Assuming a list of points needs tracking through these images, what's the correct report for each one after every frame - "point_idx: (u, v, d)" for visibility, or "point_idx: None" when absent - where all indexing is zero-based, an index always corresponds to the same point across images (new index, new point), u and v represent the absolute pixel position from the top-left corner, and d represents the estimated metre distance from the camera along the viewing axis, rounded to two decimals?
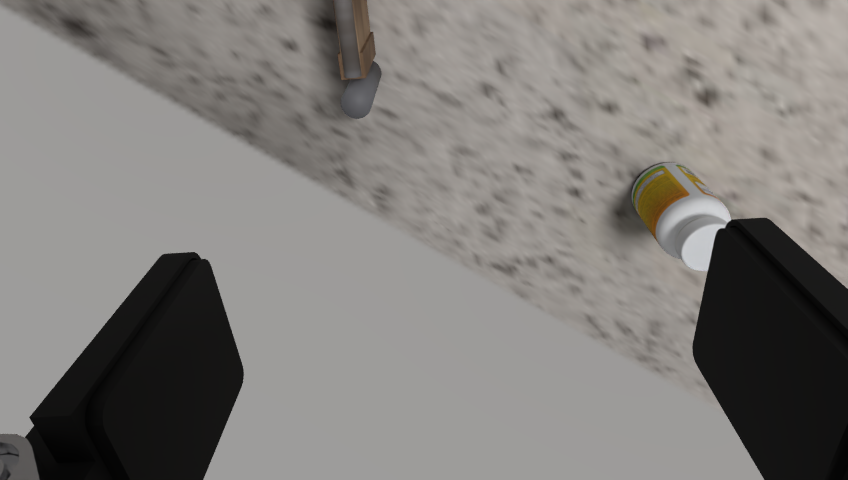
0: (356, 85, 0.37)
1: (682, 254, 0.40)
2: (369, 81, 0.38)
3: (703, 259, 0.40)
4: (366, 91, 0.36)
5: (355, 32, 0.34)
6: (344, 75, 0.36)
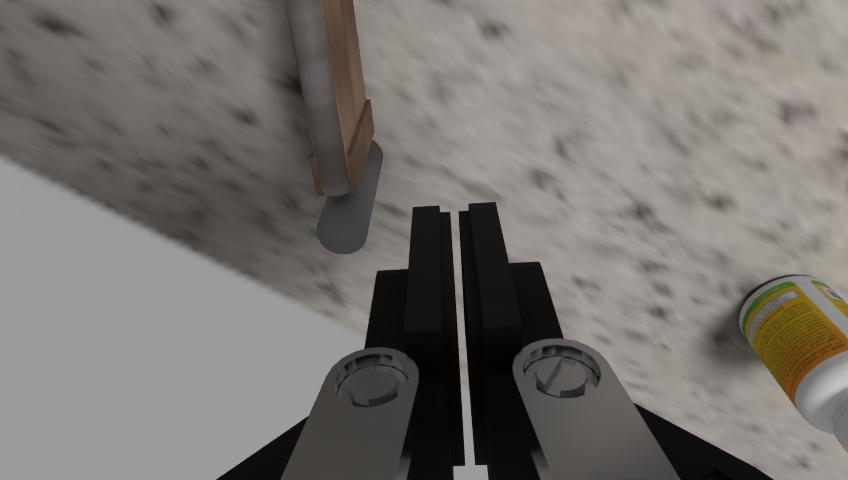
0: (342, 202, 0.22)
1: None
2: (364, 187, 0.24)
3: None
4: (358, 212, 0.22)
5: (338, 124, 0.20)
6: (321, 189, 0.22)
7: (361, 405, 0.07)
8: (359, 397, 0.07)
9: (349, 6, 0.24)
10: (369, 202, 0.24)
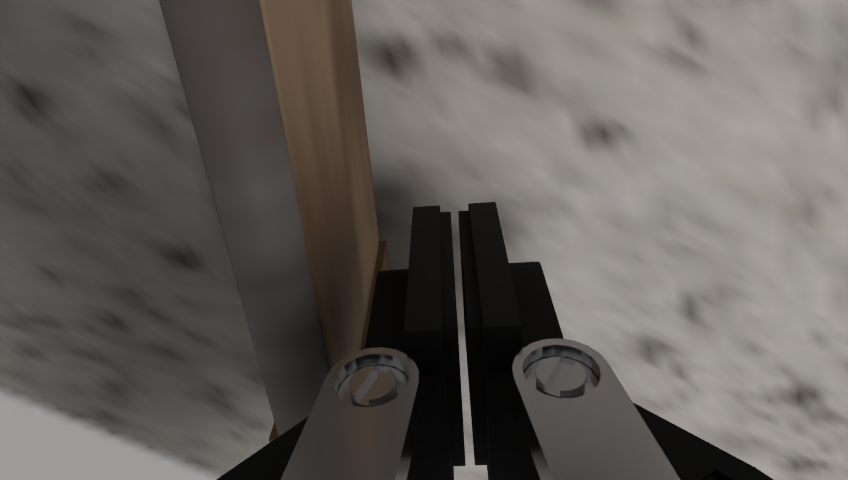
0: None
1: None
2: None
3: None
4: None
5: None
6: None
7: (361, 405, 0.07)
8: (359, 397, 0.07)
9: (355, 103, 0.13)
10: None
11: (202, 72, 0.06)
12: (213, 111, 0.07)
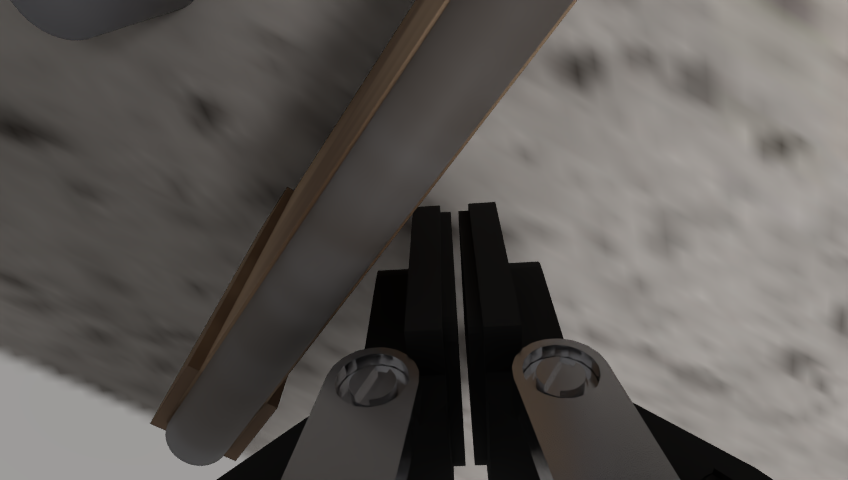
0: None
1: None
2: None
3: None
4: None
5: (298, 358, 0.09)
6: (168, 426, 0.09)
7: (361, 405, 0.07)
8: (359, 397, 0.07)
9: None
10: None
11: (479, 42, 0.06)
12: (455, 77, 0.06)
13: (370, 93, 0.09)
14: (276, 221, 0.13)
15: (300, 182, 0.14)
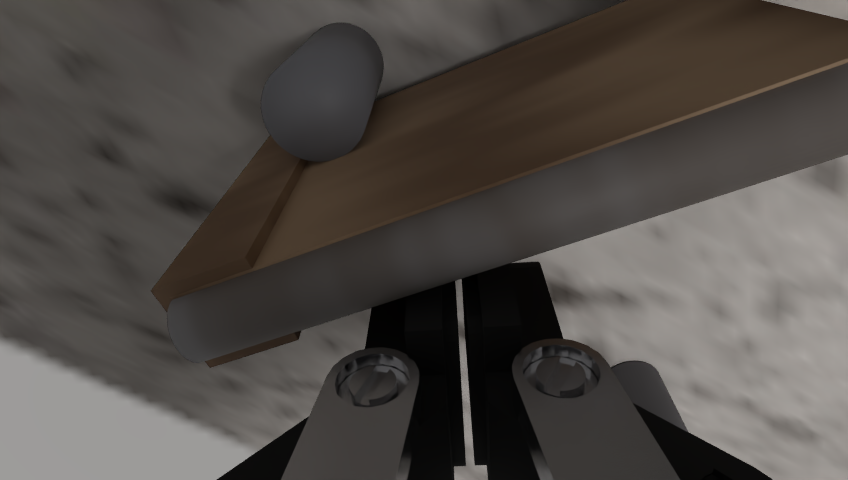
0: None
1: None
2: None
3: None
4: None
5: None
6: (174, 304, 0.08)
7: (361, 405, 0.07)
8: (359, 397, 0.07)
9: None
10: None
11: (755, 152, 0.06)
12: (715, 166, 0.07)
13: (549, 106, 0.09)
14: None
15: None
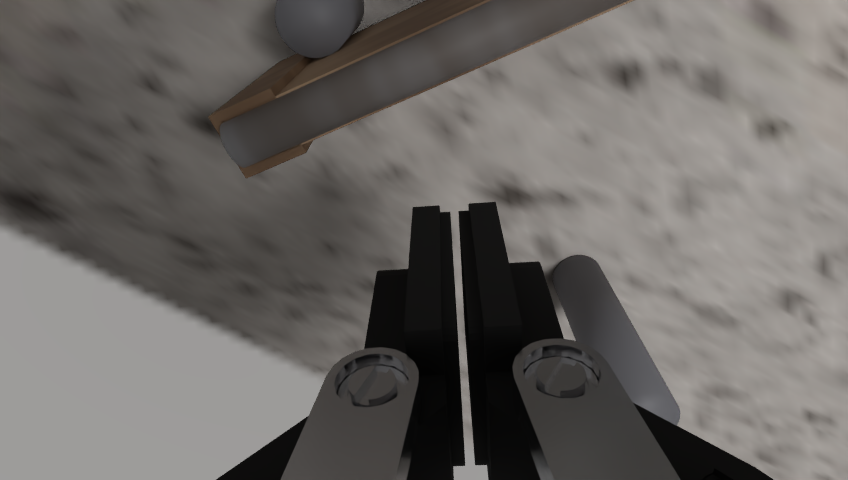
0: (642, 375, 0.16)
1: None
2: (640, 341, 0.18)
3: None
4: (668, 391, 0.16)
5: (348, 122, 0.12)
6: (224, 124, 0.12)
7: (361, 405, 0.07)
8: (359, 397, 0.07)
9: None
10: None
11: None
12: (556, 1, 0.11)
13: None
14: None
15: None
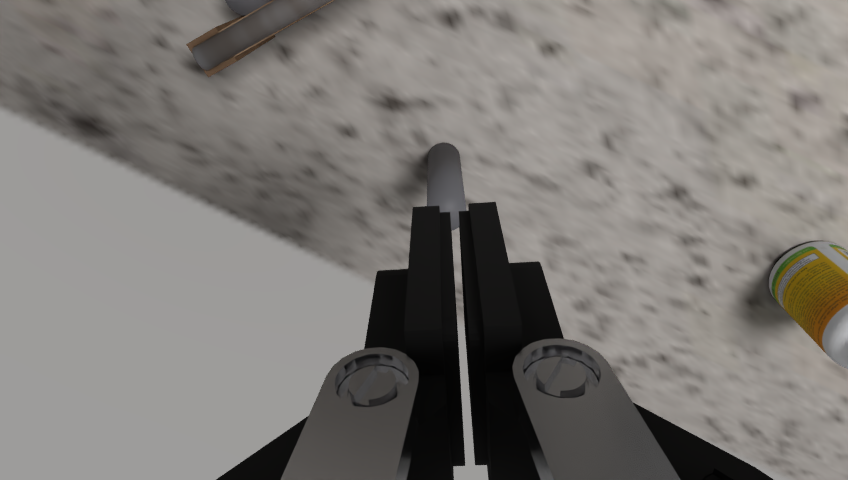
0: (445, 189, 0.28)
1: None
2: (457, 178, 0.30)
3: None
4: (459, 197, 0.28)
5: (256, 42, 0.25)
6: (194, 47, 0.25)
7: (361, 405, 0.07)
8: (359, 397, 0.07)
9: None
10: (463, 190, 0.30)
11: None
12: None
13: None
14: None
15: None
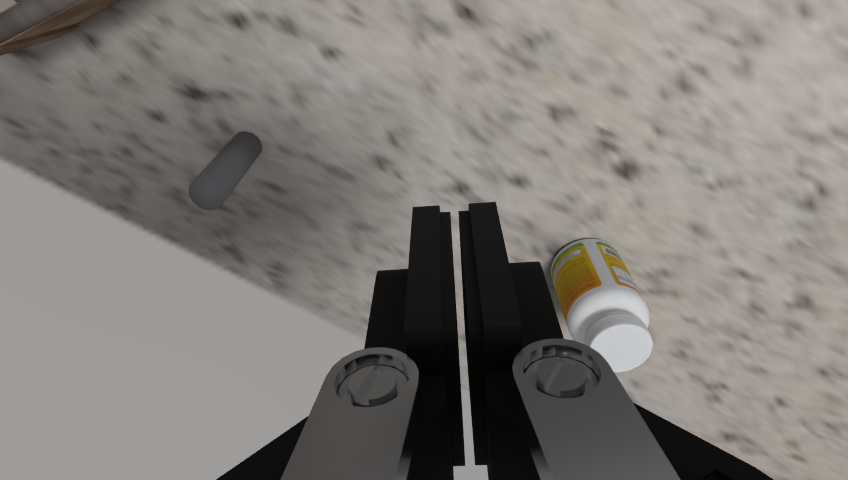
0: (207, 173, 0.32)
1: None
2: (230, 164, 0.34)
3: (614, 360, 0.36)
4: (218, 180, 0.32)
5: (16, 34, 0.28)
6: None
7: (361, 405, 0.07)
8: (359, 397, 0.07)
9: None
10: (232, 174, 0.34)
11: None
12: None
13: None
14: None
15: None
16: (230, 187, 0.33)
